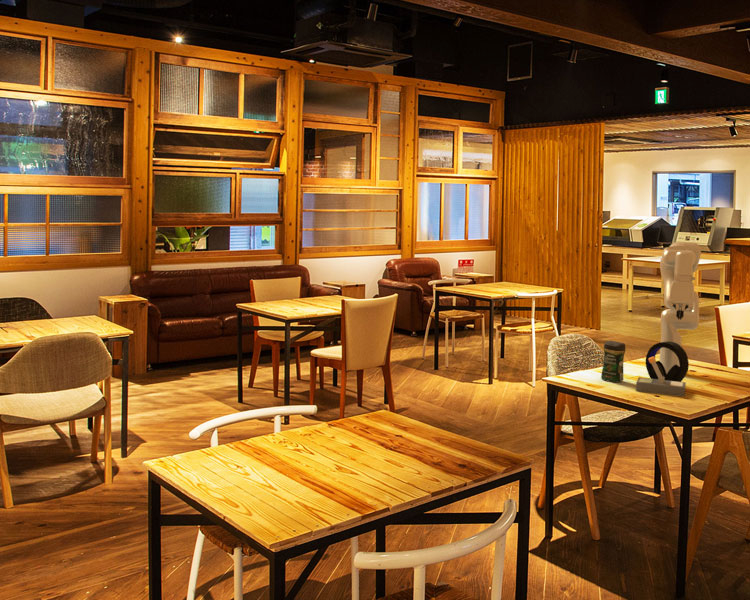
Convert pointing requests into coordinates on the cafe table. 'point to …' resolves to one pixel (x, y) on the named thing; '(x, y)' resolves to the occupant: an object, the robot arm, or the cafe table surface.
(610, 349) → the coffee jar
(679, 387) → the switch box
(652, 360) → the lever
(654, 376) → the headphones
